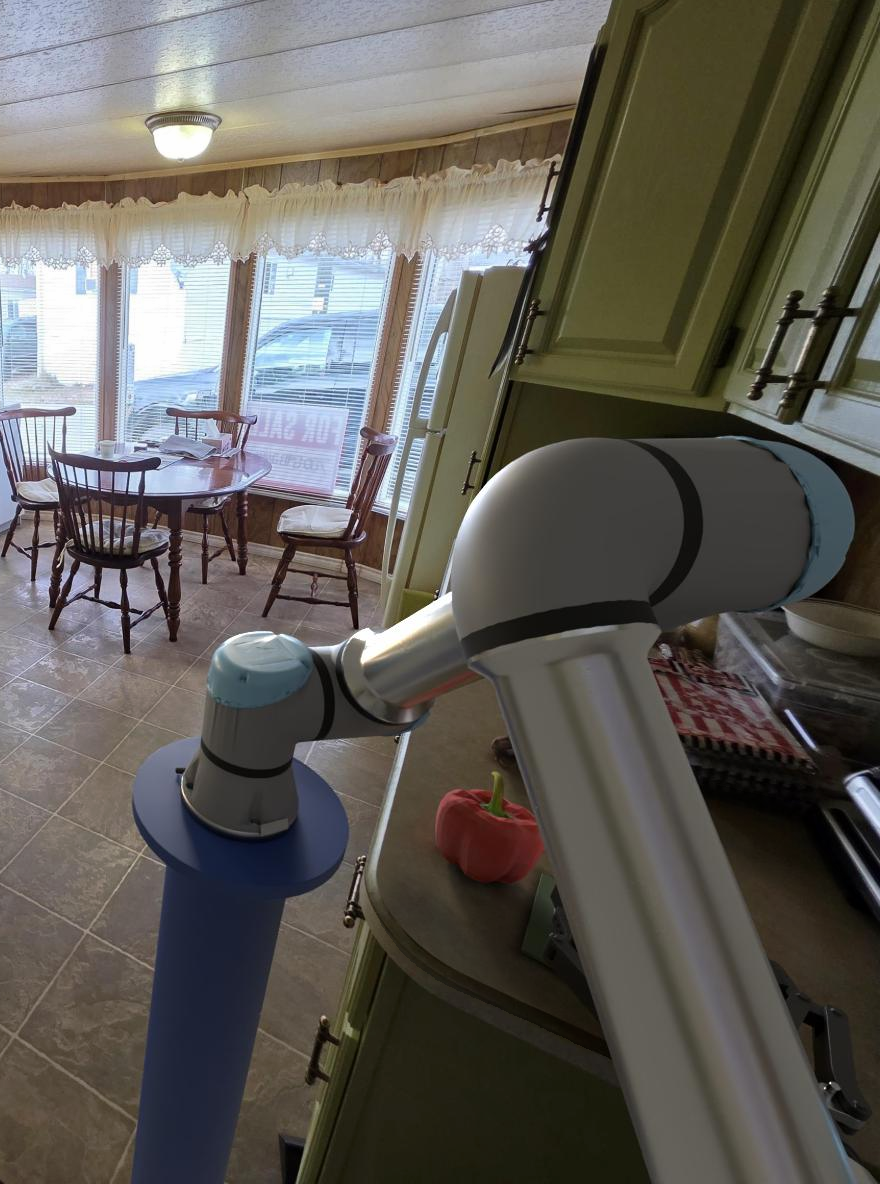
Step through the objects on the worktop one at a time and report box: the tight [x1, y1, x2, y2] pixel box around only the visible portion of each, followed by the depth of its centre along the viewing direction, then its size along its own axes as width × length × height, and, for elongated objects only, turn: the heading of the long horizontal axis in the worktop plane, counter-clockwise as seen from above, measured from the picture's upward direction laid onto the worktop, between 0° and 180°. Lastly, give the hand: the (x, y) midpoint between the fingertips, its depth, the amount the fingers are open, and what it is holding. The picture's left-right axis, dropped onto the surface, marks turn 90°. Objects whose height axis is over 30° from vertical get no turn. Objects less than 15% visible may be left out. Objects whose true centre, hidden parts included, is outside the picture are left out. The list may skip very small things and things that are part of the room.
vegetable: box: [435, 771, 545, 884], centre depth 73 cm, size 11×10×10 cm
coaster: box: [520, 872, 556, 969], centre depth 65 cm, size 13×13×1 cm
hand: (641, 907), depth 60 cm, fingers open, 13 cm apart
